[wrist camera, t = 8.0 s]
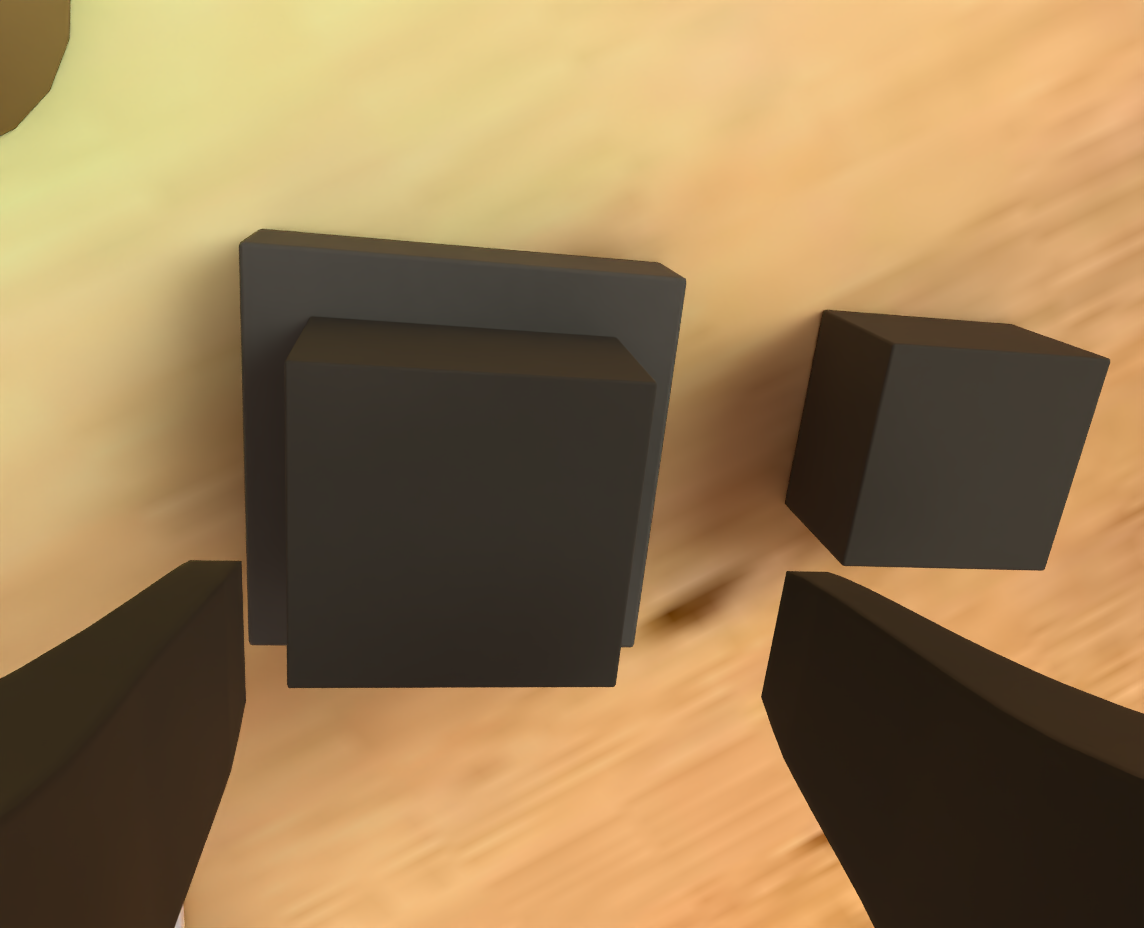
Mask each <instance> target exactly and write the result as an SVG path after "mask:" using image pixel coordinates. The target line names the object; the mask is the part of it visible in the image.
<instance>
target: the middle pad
mask: <svg viewBox="0 0 1144 928" xmlns="http://www.w3.org/2000/svg"><path fill="white" fill-rule="evenodd" d="M284 374H285V487H286V601H287V685H288V687H289V688H434V687H614V686H615V685H616V678H617V671H618V664H619V657H620V649H621V642H622V635H623V628H624V621H625V613H626V606H627V599H628V592H629V585H630V577H631V570H632V563H633V556H634V549H635V541H636V534H637V527H638V520H639V512H640V505H641V498H642V491H643V484H644V476H645V469H646V462H647V455H648V448H649V440H650V433H651V426H652V419H653V412H654V404H655V397H656V390H657V383H656V381H655V380H654V379H653V378H652V377H651V376H650V375H649V374H648V372H647V371H646V370H645V369H644V368H643V367H642V366H641V364H640V363H639V362H638V361H637V360H636V359H635V358H634V357H633V355H632V354H631V353H630V352H629V351H628V350H627V349H626V347H625V346H624V345H623V344H622V343H621V342H620V341H619V339H618V338H616V337H608V336H593V335H578V334H564V333H549V332H534V331H520V330H505V329H490V328H475V327H461V326H446V325H431V324H417V323H402V322H387V321H373V320H358V319H343V318H329V317H314V316H312V317H310V319H309V320H308V322H307V324H306V326H305V327H304V329H303V331H302V333H301V334H300V336H299V338H298V340H297V341H296V343H295V345H294V347H293V348H292V350H291V352H290V354H289V355H288V357H287V359H286V361H285V363H284Z"/></svg>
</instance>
